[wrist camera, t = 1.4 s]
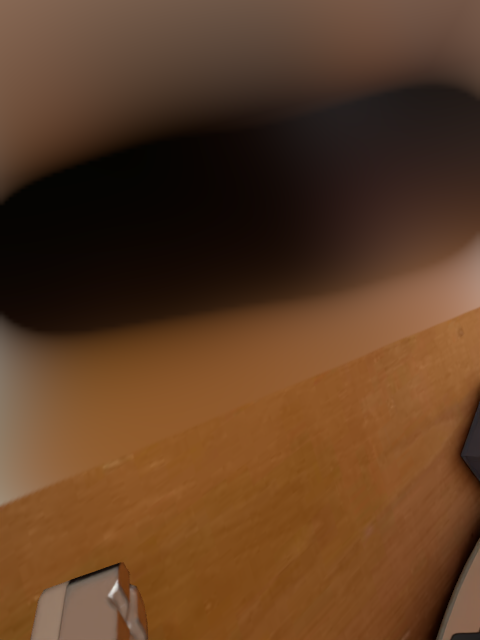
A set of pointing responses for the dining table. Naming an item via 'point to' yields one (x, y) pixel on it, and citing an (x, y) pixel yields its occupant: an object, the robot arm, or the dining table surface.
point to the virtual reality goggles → (464, 604)
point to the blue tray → (473, 446)
